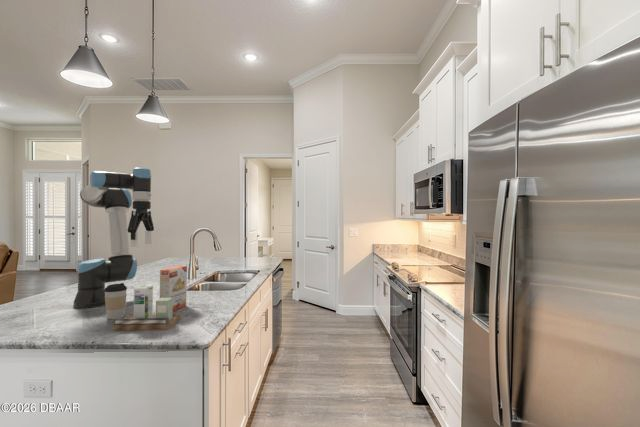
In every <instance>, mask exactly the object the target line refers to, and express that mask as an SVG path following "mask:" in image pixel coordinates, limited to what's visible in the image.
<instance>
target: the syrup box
mask: <svg viewBox="0 0 640 427" xmlns="http://www.w3.org/2000/svg"><path fill="white" fill-rule="evenodd" d="M153 295H154V286H153V285H137V286H135V287H134V288H133V315H134V318H153V315H154V314H153V312H154V309H153V306H154V304H153V303H154V296H153Z"/></svg>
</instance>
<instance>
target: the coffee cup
mask: <svg viewBox="0 0 640 427" xmlns="http://www.w3.org/2000/svg"><path fill="white" fill-rule="evenodd" d="M127 289H128V288H127V286H126V285H125V283H124V282H121V283H114V284H109V285H107V286H106V287H105V290H104V291H105V311H106V319H108V320H113V319H116V318H124V316H125V311H126V303H127V294H128V293H127Z"/></svg>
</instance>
